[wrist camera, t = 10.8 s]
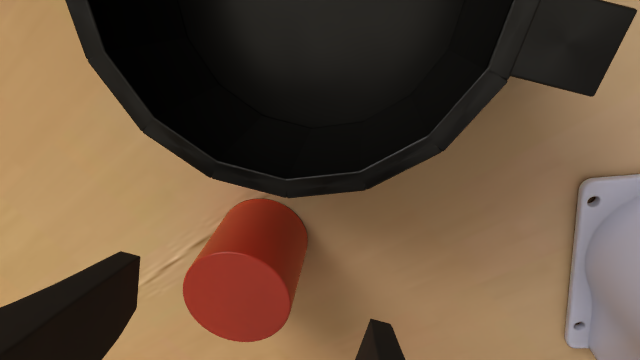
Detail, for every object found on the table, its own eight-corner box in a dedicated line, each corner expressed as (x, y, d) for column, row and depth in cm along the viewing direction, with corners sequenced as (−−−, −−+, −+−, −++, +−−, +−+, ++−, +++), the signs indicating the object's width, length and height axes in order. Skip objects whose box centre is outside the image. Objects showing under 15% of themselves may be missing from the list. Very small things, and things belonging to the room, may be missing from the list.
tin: (314, 272, 22) (299, 341, 18) (232, 276, 23) (197, 344, 18) (300, 194, 20) (279, 248, 16) (212, 201, 21) (168, 255, 17)
